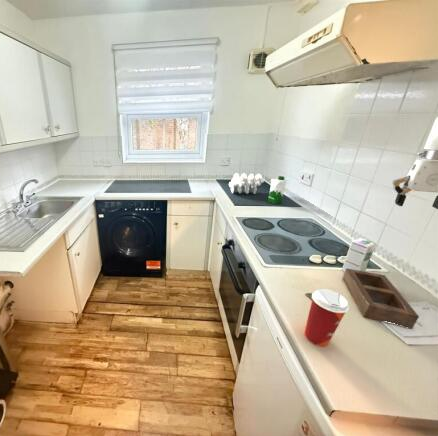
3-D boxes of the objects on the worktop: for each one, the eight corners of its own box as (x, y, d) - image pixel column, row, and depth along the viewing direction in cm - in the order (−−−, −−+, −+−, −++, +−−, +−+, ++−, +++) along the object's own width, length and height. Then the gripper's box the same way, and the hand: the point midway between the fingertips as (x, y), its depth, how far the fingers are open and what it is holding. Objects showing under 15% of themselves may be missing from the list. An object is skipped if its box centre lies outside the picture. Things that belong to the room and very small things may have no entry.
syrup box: (356, 277, 96) (369, 246, 91) (340, 270, 101) (351, 239, 96) (364, 274, 98) (377, 243, 93) (348, 266, 103) (359, 237, 98)
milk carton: (283, 203, 180) (289, 177, 173) (274, 205, 177) (280, 178, 169) (273, 200, 188) (278, 175, 180) (265, 201, 184) (270, 176, 177)
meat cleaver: (319, 295, 87) (303, 292, 88) (320, 292, 86) (304, 289, 88) (330, 317, 76) (311, 314, 78) (330, 314, 76) (312, 311, 78)
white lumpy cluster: (227, 196, 211) (256, 195, 209) (232, 193, 194) (264, 192, 192) (226, 175, 212) (255, 174, 210) (232, 171, 194) (263, 169, 193)
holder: (379, 285, 91) (384, 275, 90) (412, 328, 73) (419, 316, 71) (342, 278, 96) (346, 268, 94) (363, 317, 77) (369, 305, 75)
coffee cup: (337, 354, 65) (356, 312, 59) (303, 344, 68) (317, 304, 62) (327, 330, 72) (343, 291, 66) (297, 323, 75) (309, 284, 69)
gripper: (409, 156, 75) (389, 207, 82) (487, 158, 69) (460, 213, 75) (397, 153, 82) (380, 201, 88) (467, 155, 75) (444, 206, 82)
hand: (417, 206), depth 82 cm, fingers open, 9 cm apart
